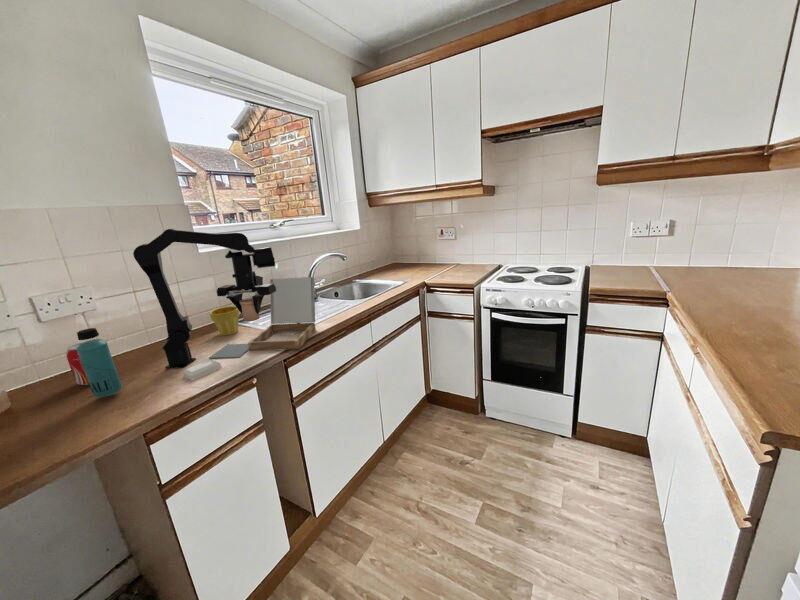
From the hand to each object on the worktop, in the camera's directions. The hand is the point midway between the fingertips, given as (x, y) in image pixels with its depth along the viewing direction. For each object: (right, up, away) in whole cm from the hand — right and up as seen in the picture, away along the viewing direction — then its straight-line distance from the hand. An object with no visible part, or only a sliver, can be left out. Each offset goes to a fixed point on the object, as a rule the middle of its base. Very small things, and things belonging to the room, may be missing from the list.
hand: (250, 313), depth 119 cm
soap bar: (-8, -18, -14) cm, 24 cm away
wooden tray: (+10, -10, +7) cm, 16 cm away
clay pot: (0, -2, +1) cm, 2 cm away
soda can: (-43, -21, -14) cm, 49 cm away
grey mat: (-6, -13, 0) cm, 15 cm away
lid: (+10, +5, +16) cm, 19 cm away
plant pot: (-17, -9, +20) cm, 28 cm away
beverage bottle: (-28, -22, -24) cm, 44 cm away
